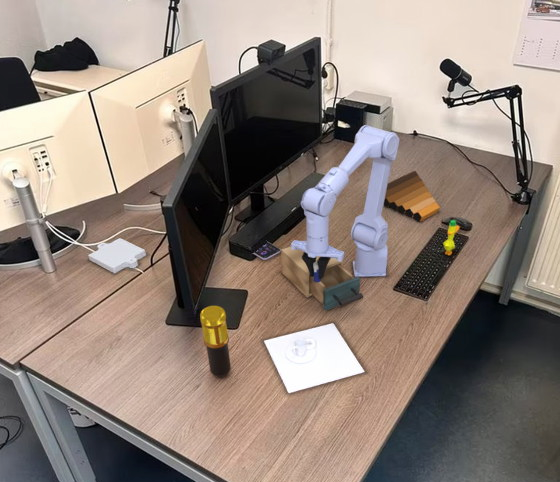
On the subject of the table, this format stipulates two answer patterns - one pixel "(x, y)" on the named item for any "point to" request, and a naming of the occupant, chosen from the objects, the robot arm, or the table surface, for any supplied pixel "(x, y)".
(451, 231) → the toy figure
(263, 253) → the smartphone
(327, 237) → the robot arm
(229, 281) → the table surface
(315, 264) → the pen
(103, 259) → the mounting plate
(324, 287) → the drawer
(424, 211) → the pan flute
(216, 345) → the gold capped bottle
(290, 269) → the cabinet
